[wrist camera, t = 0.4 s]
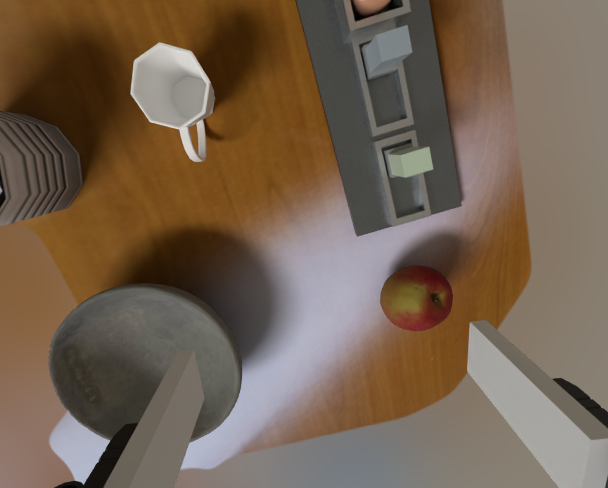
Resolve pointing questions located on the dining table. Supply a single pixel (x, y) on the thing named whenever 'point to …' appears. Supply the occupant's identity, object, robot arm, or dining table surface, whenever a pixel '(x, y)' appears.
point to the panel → (382, 111)
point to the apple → (416, 298)
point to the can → (35, 168)
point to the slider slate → (386, 52)
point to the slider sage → (407, 160)
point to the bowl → (141, 356)
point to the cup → (174, 92)
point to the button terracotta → (369, 7)
